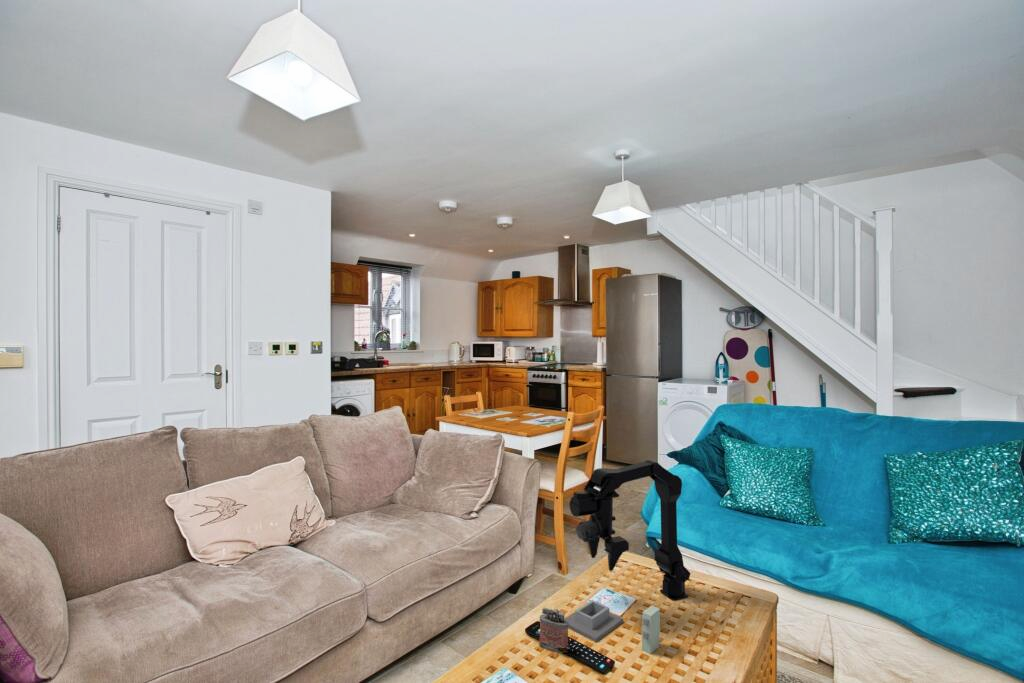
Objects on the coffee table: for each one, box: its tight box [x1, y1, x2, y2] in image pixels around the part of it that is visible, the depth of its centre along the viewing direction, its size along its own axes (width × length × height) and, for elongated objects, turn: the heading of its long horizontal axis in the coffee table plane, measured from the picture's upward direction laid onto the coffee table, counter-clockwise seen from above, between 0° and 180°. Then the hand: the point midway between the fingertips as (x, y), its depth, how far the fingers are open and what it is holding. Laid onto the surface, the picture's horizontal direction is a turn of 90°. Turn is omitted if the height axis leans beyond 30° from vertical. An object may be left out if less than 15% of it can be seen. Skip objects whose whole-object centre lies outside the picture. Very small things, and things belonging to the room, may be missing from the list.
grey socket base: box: [564, 599, 624, 643], centre depth 143 cm, size 12×14×4 cm
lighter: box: [538, 606, 569, 654], centre depth 131 cm, size 8×3×10 cm, turn 65°
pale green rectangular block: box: [641, 605, 661, 655], centre depth 131 cm, size 2×6×10 cm, turn 136°
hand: (601, 563), depth 149 cm, fingers open, 9 cm apart
